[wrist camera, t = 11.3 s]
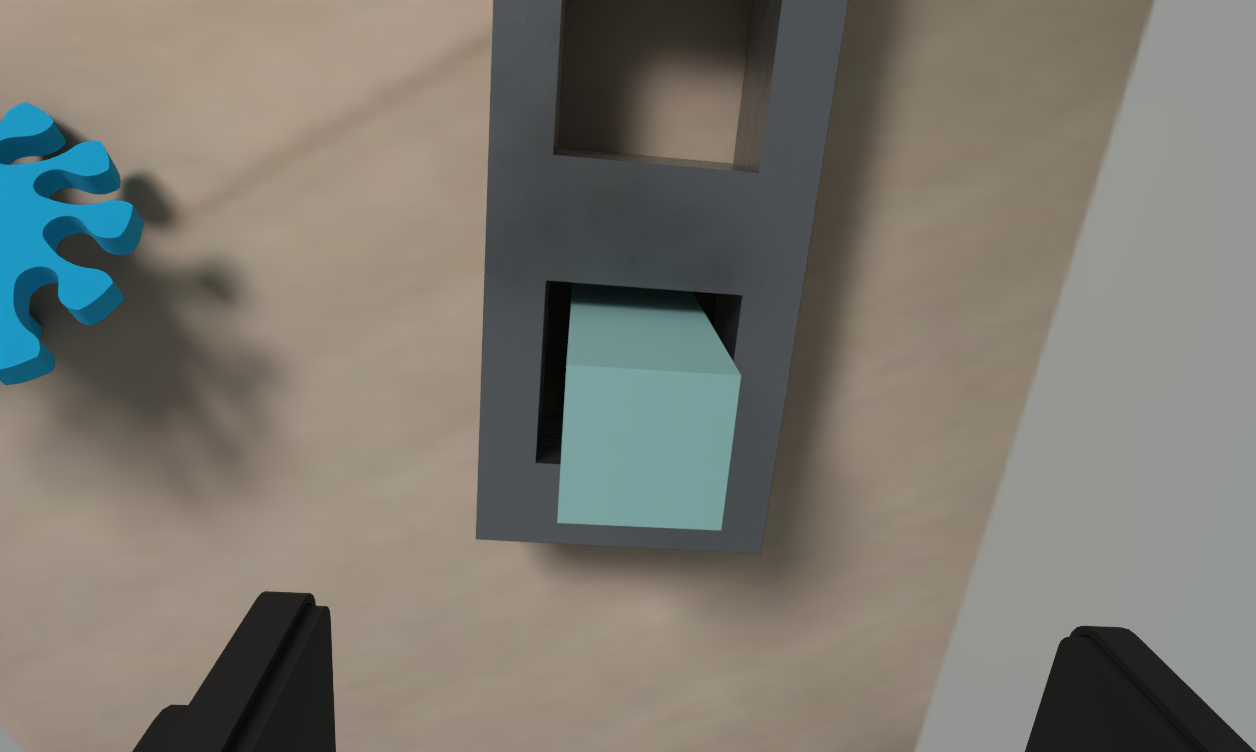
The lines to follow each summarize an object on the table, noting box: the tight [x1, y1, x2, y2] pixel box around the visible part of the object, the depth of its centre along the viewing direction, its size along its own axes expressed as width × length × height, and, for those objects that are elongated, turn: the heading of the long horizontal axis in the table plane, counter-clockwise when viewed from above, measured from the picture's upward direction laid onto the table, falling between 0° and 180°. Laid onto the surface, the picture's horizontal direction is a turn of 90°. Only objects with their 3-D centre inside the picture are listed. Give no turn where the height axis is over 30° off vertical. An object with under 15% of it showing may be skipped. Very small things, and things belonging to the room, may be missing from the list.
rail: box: [476, 0, 848, 554], centre depth 24 cm, size 20×9×4 cm, turn 175°
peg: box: [557, 283, 741, 530], centre depth 23 cm, size 4×4×9 cm
